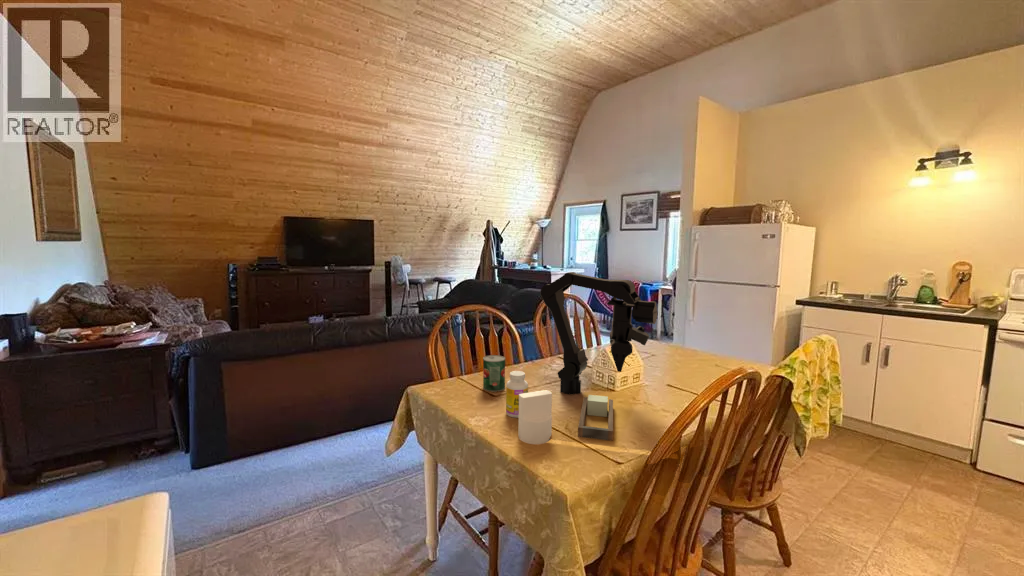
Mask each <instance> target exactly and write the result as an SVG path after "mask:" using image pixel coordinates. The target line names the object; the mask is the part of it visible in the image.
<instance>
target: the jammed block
mask: <svg viewBox="0 0 1024 576" xmlns="http://www.w3.org/2000/svg"><path fill="white" fill-rule="evenodd" d="M587 397H588V405H587V411H586V416H595V417H603V418H607V417H608V407H609V399H608V398H609V396H607V395H606V396H605V395H596V394H594V395H593V394H588V396H587Z"/></svg>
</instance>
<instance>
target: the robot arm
mask: <svg viewBox="0 0 1024 576" xmlns="http://www.w3.org/2000/svg"><path fill="white" fill-rule="evenodd" d="M571 286H575V287H580V288H586V289H589V290H595V291H599V292H602V293H605V294H606V295H608V296H610V297H611V299H610V300H608V301H607V302H606V304H607V305H610V306H613V308H612V309H613V311H612V321H611V325H612V326H611V330H610V333H609V342H610V353H611V356H612V358H613V362H614V365H615V368H616V371H617V372H619V373H620V372H622V370H623V367H624V364H625V361H626V358H627V357H628V356H631V355H632V354H633V345H632V343H631V342H632V341H634V342H637V343H639V344H641V345H642V346H646V344H647V343H648V340H649V338H650V335H649V333H647V332H646V331H645V328H644V327H643V326H641V325H639V326H637V327H633V324H632V319H633V320H634V321H635V322H636V323H642V324H650V325H652V324H653V325H655V324H656V323H657V319H658V313H659V311H658V307H657V302H656V301H653V300H652V301H648V300H647V301H646V300H642V298H640V295H638V293H637V291H636V286H635V283H634V282H633V281H632V280H629V279H605V278H601V277H595V276H591V275H586V274H582V273H576V272H574V271H570V272H566V273H564V274H563V275H561V276H560V277H559V278H557V279H555V280H554V281H552V282H551V283H548V284H545V285H543V286H542V287H541V289H540V291H539V292H540V293H539V294H540V297H541V299H542V300H543V302H544V304H545V306H546V307H547V308H548V309H549V310H550V312H551V316H552V319H553V322H554V325H555V328H556V331H557V335H558V336H559V337H558V338H559V340H560V343H561V347H562V349H563V354H562V355H563V356H562V357H563V358H562V361H563V362H562V363H563V368H560V370H559V371H558V372H557V376H558V379H559V380H560V387H559V388H560V391H559V393H563V394H565V395H581V392H582V380H581V378H580V375H581V374H582V373H583V371H585V370H586V368H587V367H588V361H589V359H588V357H587V355H586V351H585V349H584V348H583V349H580V348H579V347H578V345H577V343H576V339H575V337H574V333H573V330H572V328H571V324H570V321H569V319H568V318H569V317H568V315H567V312H566V309H565V295H564V293H565V292H566V291H567V290H568V289H569V288H571Z"/></svg>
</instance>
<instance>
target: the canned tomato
mask: <svg viewBox="0 0 1024 576" xmlns="http://www.w3.org/2000/svg"><path fill="white" fill-rule="evenodd" d="M482 361H483V362H482V366H483V368H482V370H483V371H482V374H483V376H482V377H483V378H482V380H483V381H482V383H483V384H482V385H483V386H482V387H483V390H484V391H486V392H490V391H491V392H493V393H495V392H497V391H498V392H502V391H504V390H505V389H506V357H505V356H502V355H498V354H497V355H496V354H491V355H490V354H489V355H485V356H483V357H482Z"/></svg>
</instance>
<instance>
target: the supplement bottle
mask: <svg viewBox="0 0 1024 576" xmlns="http://www.w3.org/2000/svg"><path fill="white" fill-rule="evenodd" d="M525 378H526V373H525V372H524V371H522V370H513V371H510V372H509V380H508V381H506V383H505V389H506V391H505V392H506V393H505V397H506V398H505V413H506V415H507V416H508V417H511V418H518V419H519V394H522V393H529V383H528V382H527V381H526V380H525Z"/></svg>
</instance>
